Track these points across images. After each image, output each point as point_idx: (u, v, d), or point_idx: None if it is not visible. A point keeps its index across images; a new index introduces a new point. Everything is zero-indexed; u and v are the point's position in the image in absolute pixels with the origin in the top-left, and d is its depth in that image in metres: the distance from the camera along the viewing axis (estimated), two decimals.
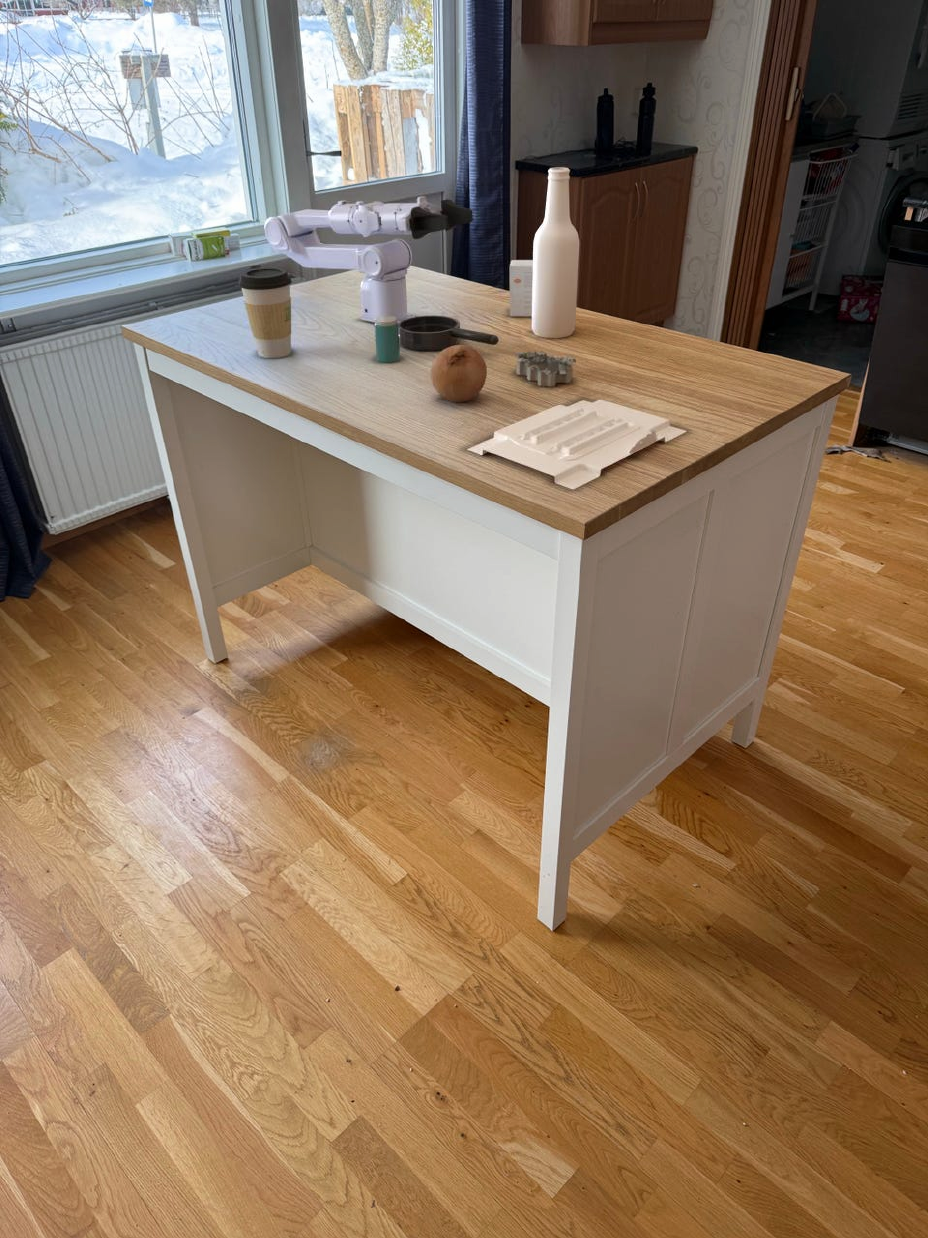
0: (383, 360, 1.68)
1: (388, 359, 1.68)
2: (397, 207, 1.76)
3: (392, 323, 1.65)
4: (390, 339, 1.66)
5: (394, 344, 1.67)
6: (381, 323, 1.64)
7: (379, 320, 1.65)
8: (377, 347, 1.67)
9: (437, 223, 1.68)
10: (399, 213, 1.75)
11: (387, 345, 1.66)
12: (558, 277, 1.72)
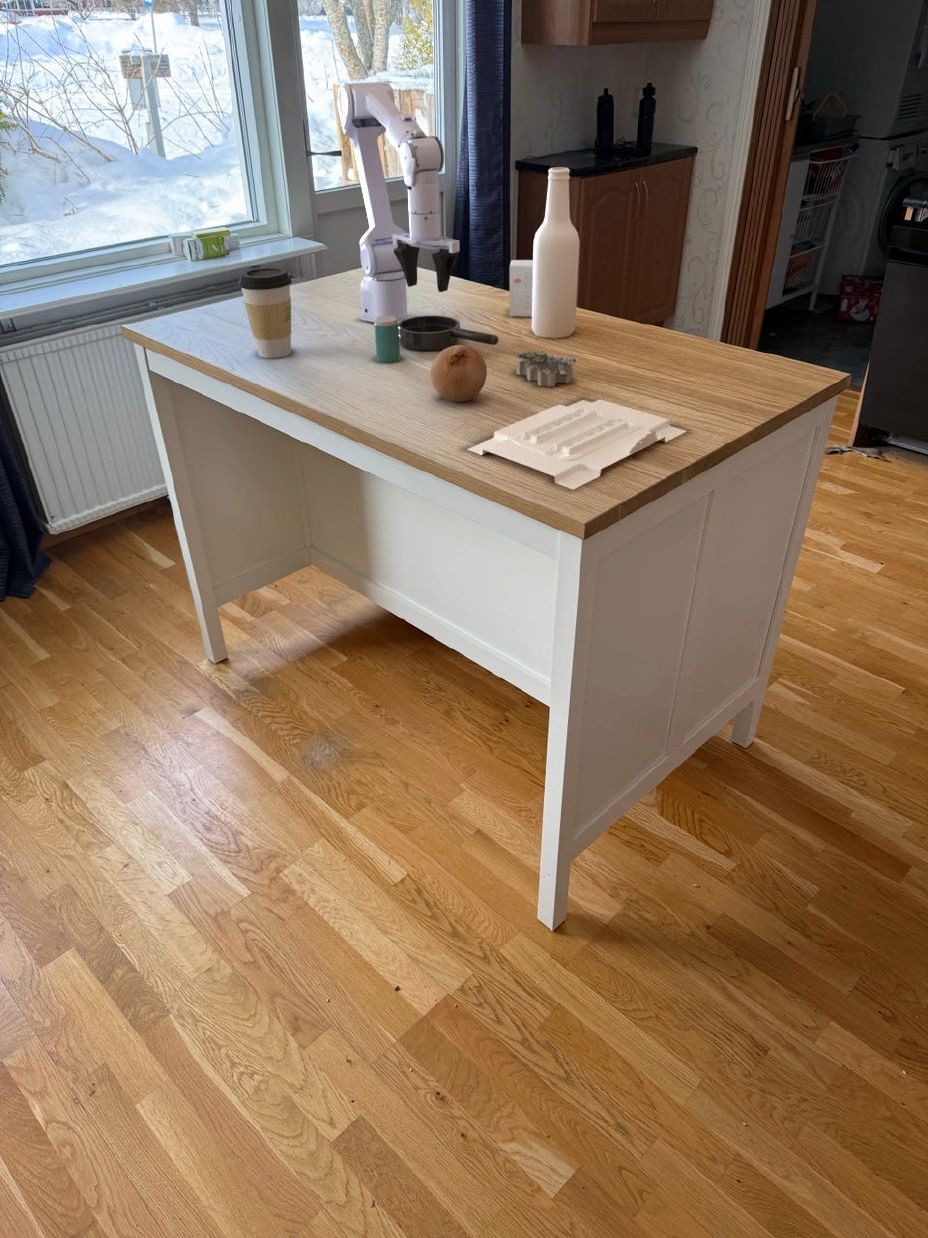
0: (383, 360, 1.68)
1: (388, 359, 1.68)
2: (421, 212, 1.62)
3: (392, 323, 1.65)
4: (390, 339, 1.66)
5: (394, 344, 1.67)
6: (381, 323, 1.64)
7: (379, 320, 1.65)
8: (377, 347, 1.67)
9: None
10: None
11: (387, 345, 1.66)
12: (558, 276, 1.72)
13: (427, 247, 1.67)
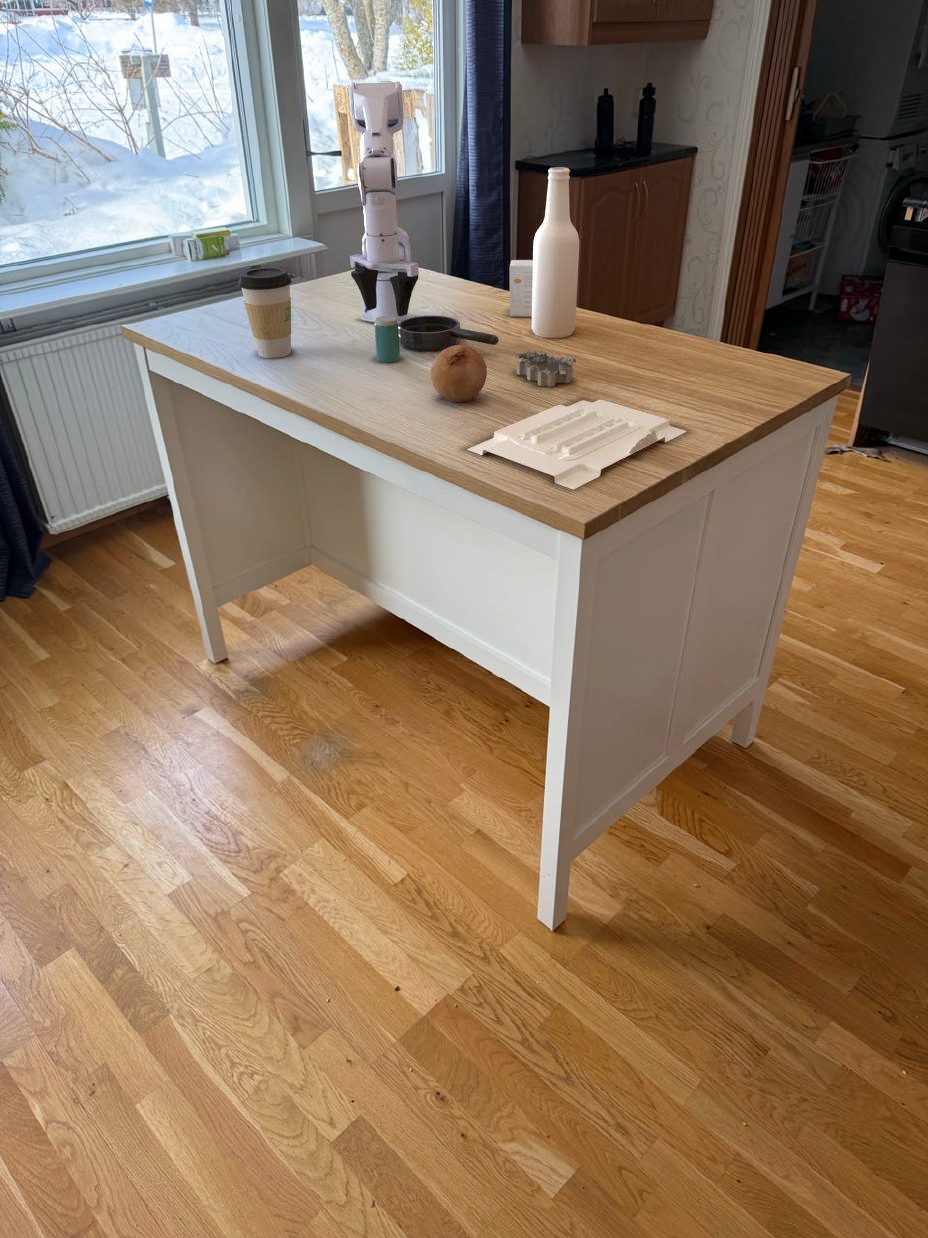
0: (383, 360, 1.68)
1: (388, 359, 1.68)
2: (372, 234, 1.55)
3: (392, 323, 1.65)
4: (390, 339, 1.66)
5: (394, 344, 1.67)
6: (381, 323, 1.64)
7: (379, 320, 1.65)
8: (377, 347, 1.67)
9: None
10: None
11: (387, 345, 1.66)
12: (558, 276, 1.72)
13: (385, 270, 1.60)
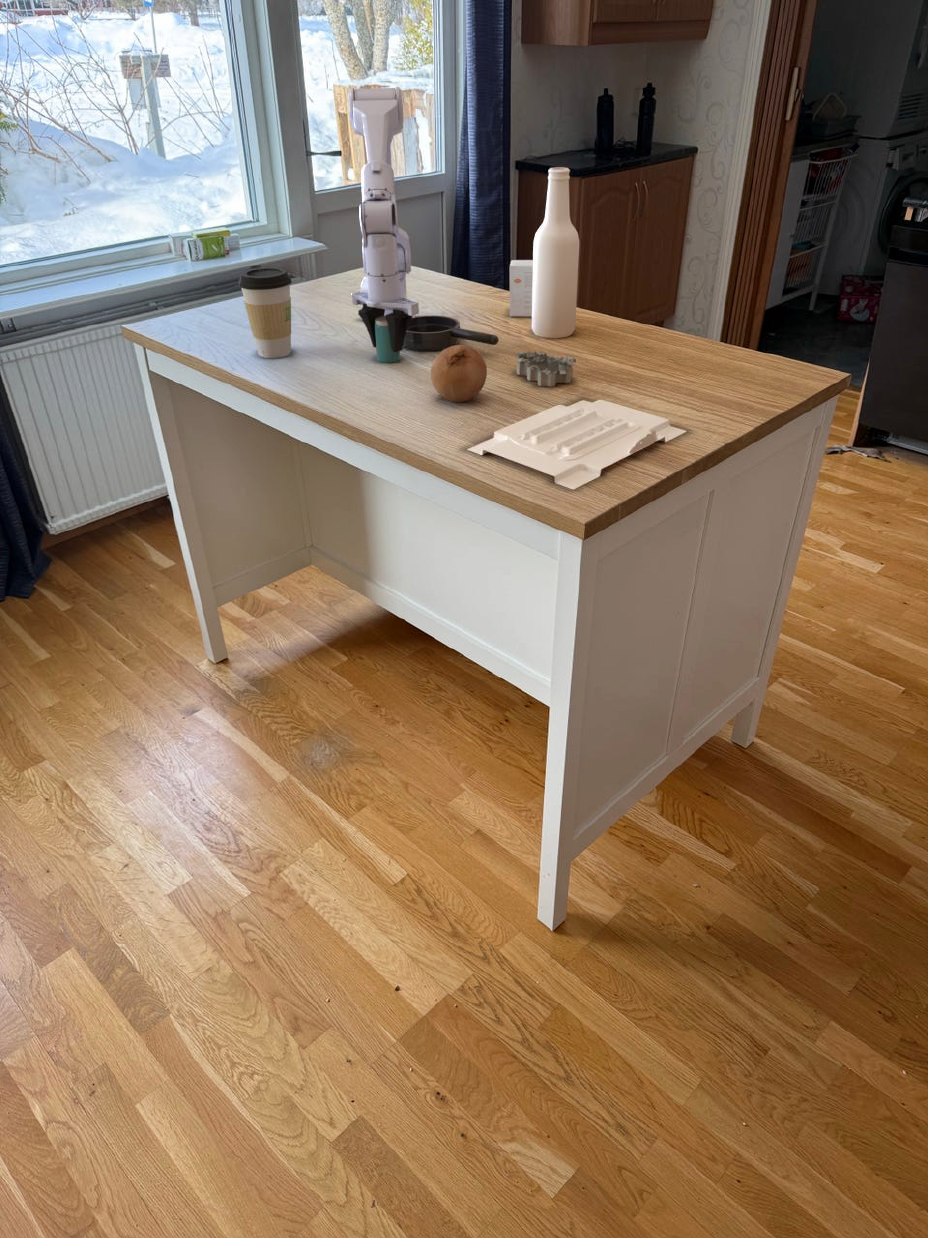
0: (383, 360, 1.68)
1: (388, 359, 1.68)
2: (373, 274, 1.59)
3: None
4: (390, 339, 1.66)
5: None
6: (381, 323, 1.64)
7: (379, 320, 1.65)
8: (377, 347, 1.67)
9: None
10: None
11: (387, 345, 1.66)
12: (558, 276, 1.72)
13: (386, 308, 1.64)
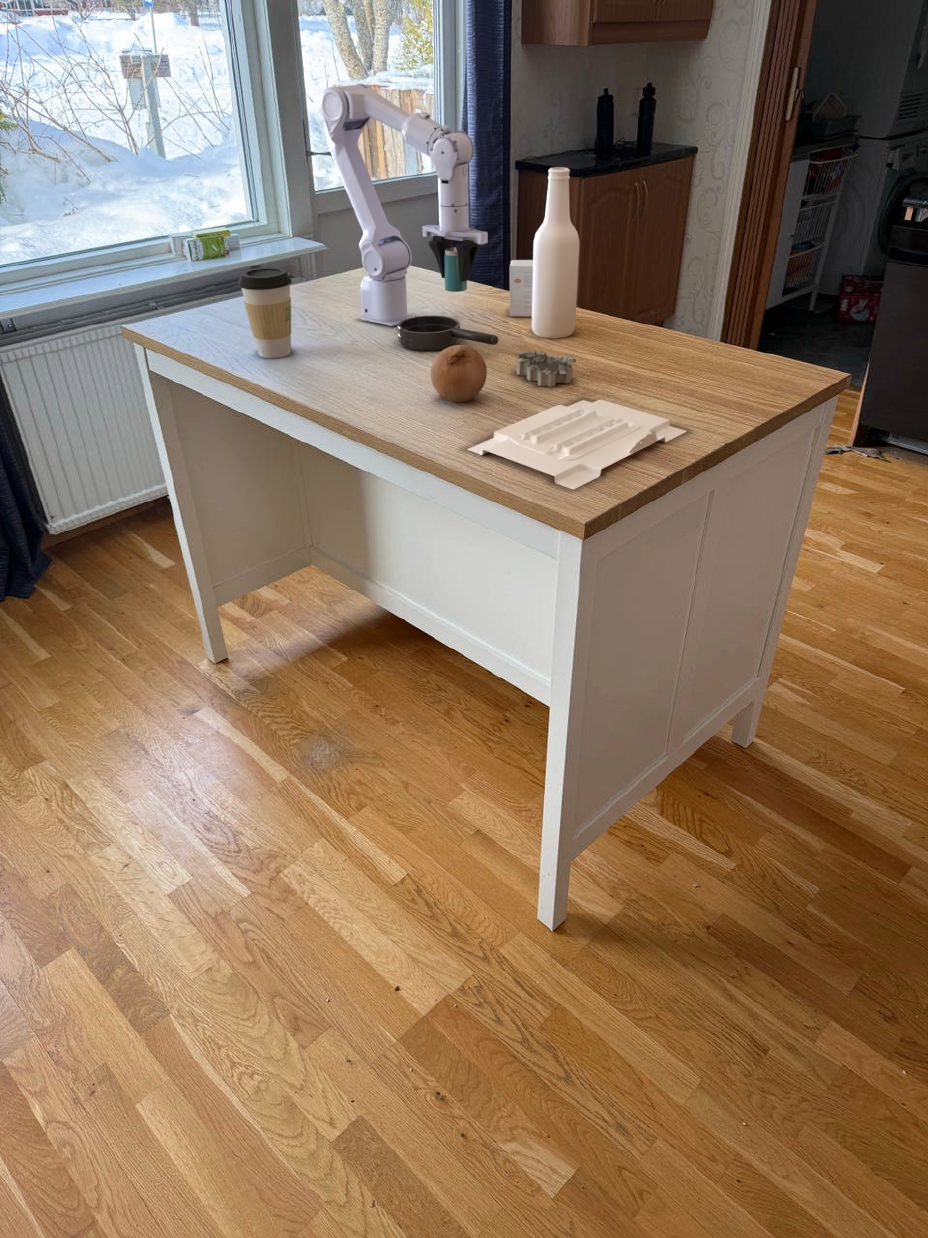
0: (451, 289, 1.77)
1: (456, 288, 1.77)
2: (459, 204, 1.68)
3: None
4: (459, 268, 1.75)
5: None
6: (451, 253, 1.74)
7: (449, 250, 1.74)
8: (446, 277, 1.77)
9: None
10: None
11: (455, 274, 1.76)
12: (558, 276, 1.72)
13: (456, 239, 1.73)
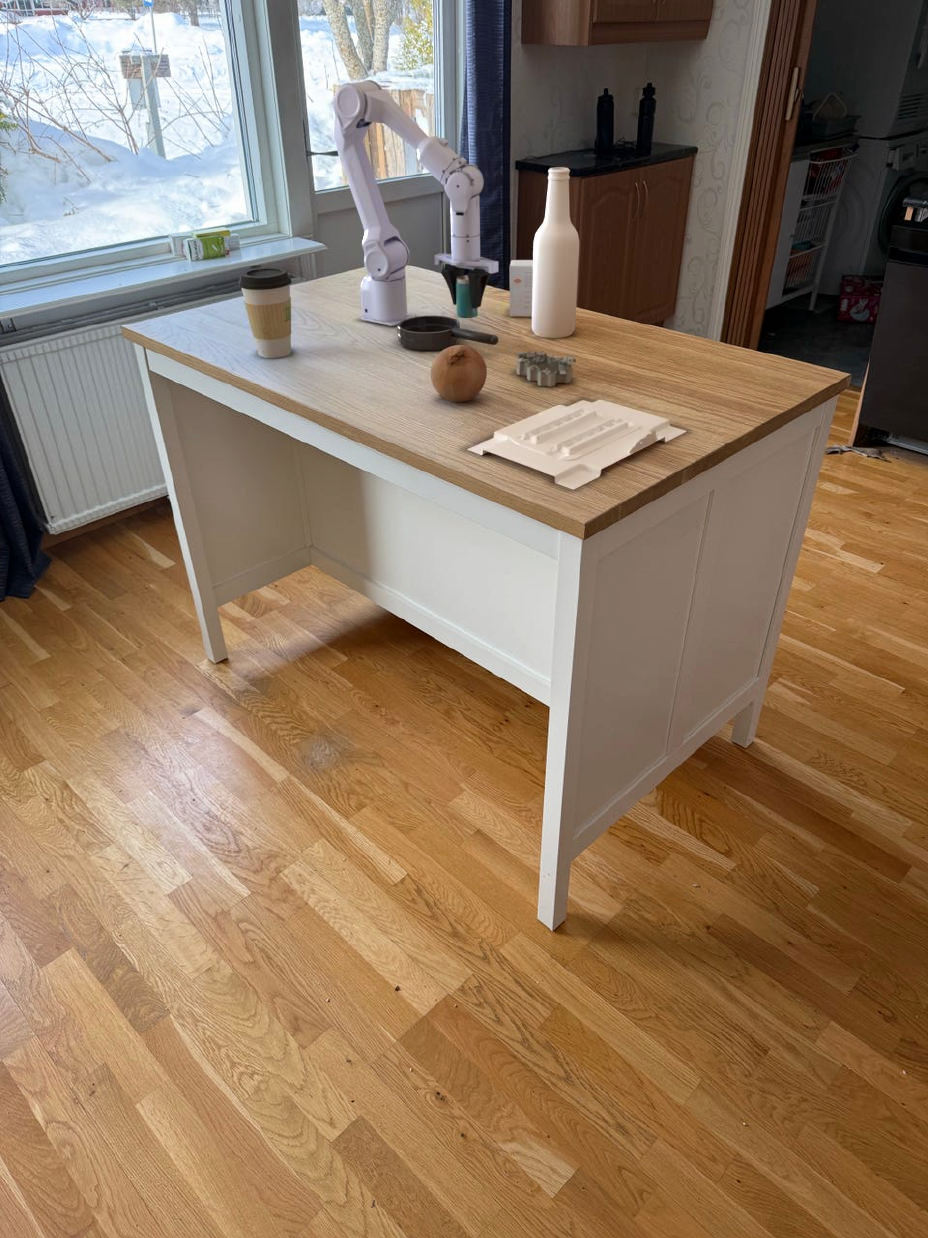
0: (463, 316, 1.83)
1: (468, 315, 1.83)
2: (473, 235, 1.74)
3: None
4: None
5: None
6: (463, 281, 1.79)
7: (461, 278, 1.80)
8: (458, 304, 1.82)
9: None
10: (451, 238, 1.77)
11: (467, 301, 1.81)
12: (558, 276, 1.72)
13: (467, 267, 1.79)
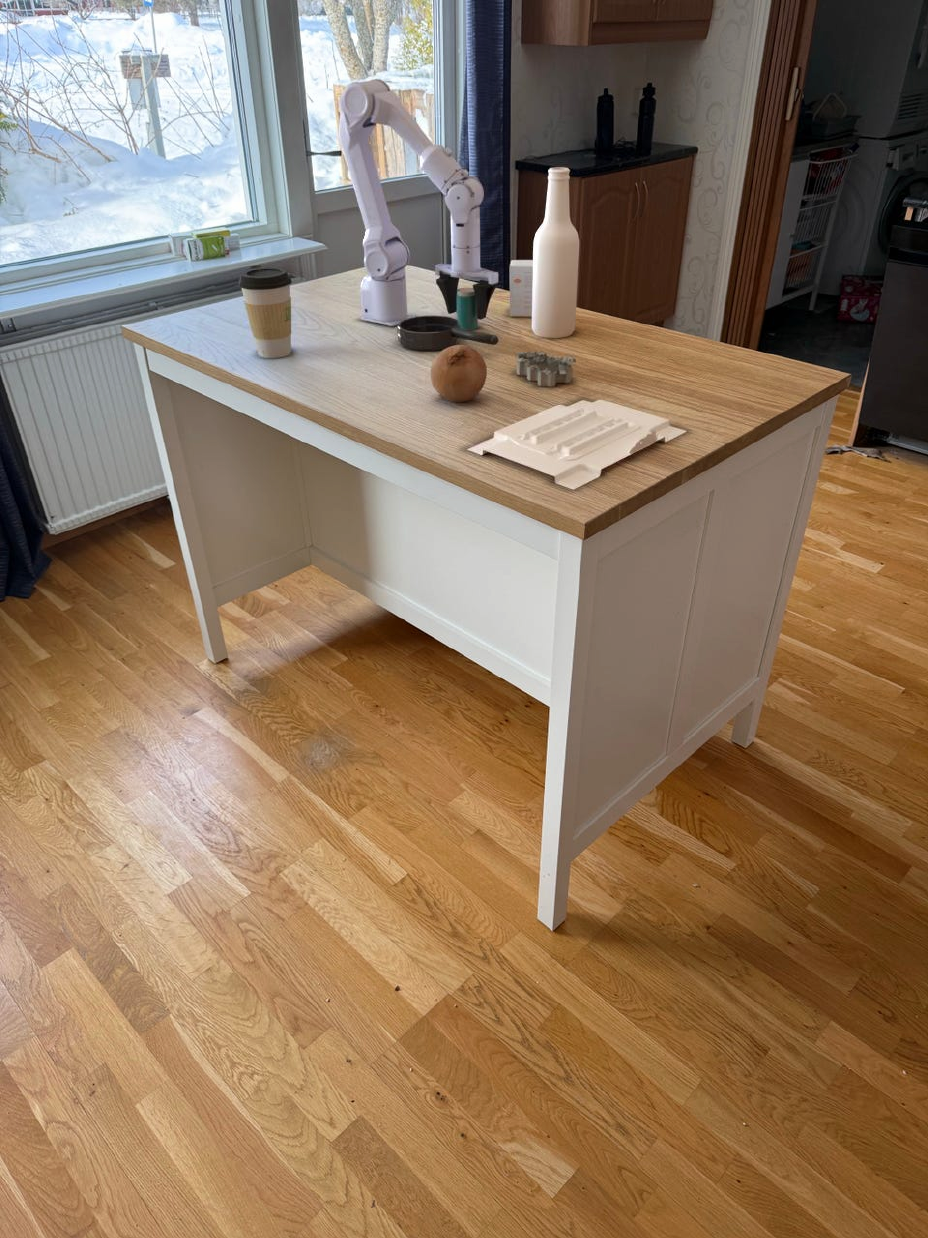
0: (463, 328, 1.84)
1: (468, 327, 1.84)
2: (473, 246, 1.75)
3: (473, 294, 1.81)
4: (471, 308, 1.82)
5: (474, 313, 1.83)
6: (463, 293, 1.81)
7: (461, 291, 1.81)
8: (458, 316, 1.84)
9: None
10: (451, 249, 1.78)
11: (467, 314, 1.83)
12: (558, 276, 1.72)
13: (467, 278, 1.80)
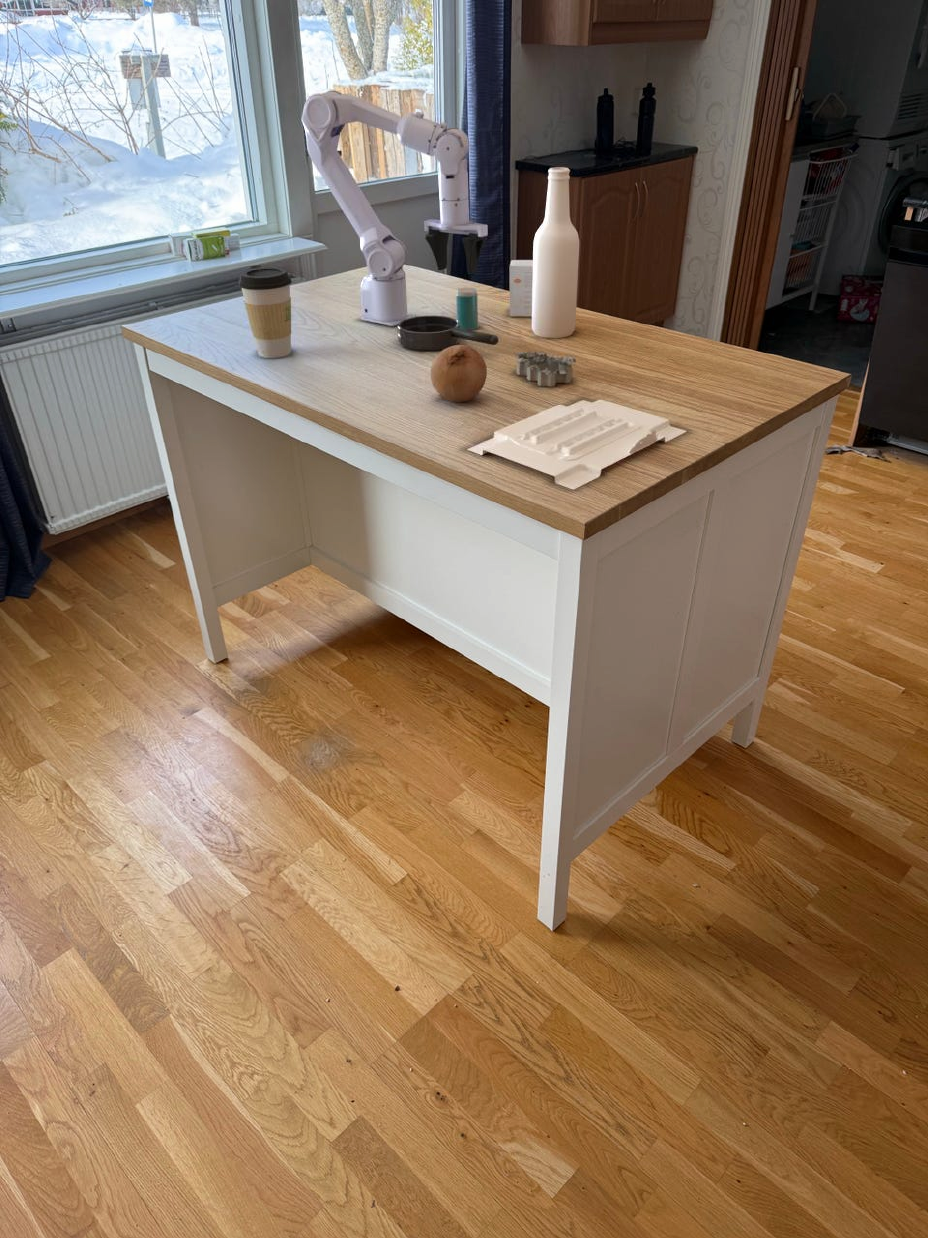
0: (463, 328, 1.84)
1: (468, 327, 1.84)
2: (463, 198, 1.74)
3: (473, 294, 1.81)
4: (471, 308, 1.82)
5: (474, 313, 1.83)
6: (463, 293, 1.81)
7: (461, 291, 1.81)
8: (458, 316, 1.84)
9: None
10: None
11: (467, 314, 1.83)
12: (558, 276, 1.72)
13: (457, 232, 1.79)
